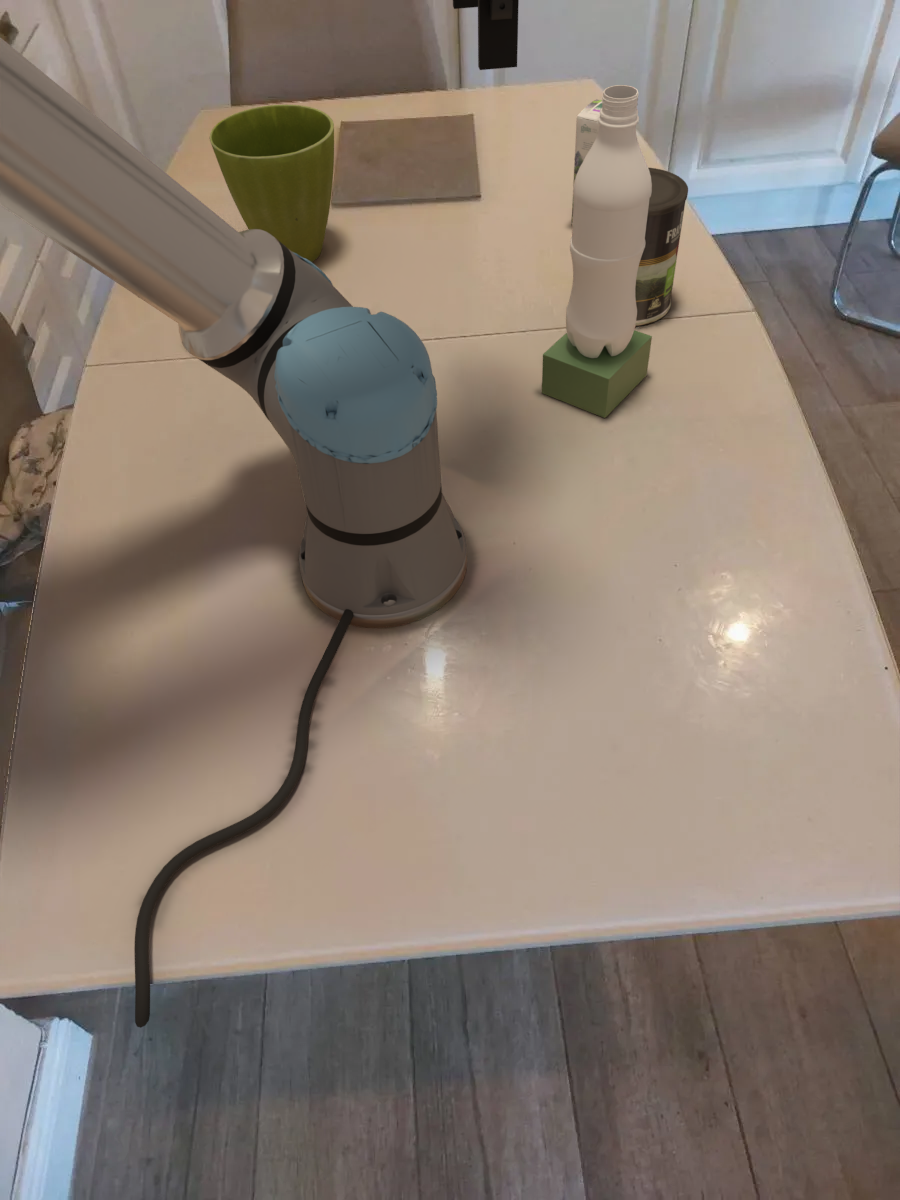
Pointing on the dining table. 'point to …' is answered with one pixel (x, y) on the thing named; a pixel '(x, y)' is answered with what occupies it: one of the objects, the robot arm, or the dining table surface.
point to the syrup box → (585, 134)
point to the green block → (594, 374)
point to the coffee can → (660, 246)
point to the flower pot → (280, 171)
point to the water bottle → (608, 230)
